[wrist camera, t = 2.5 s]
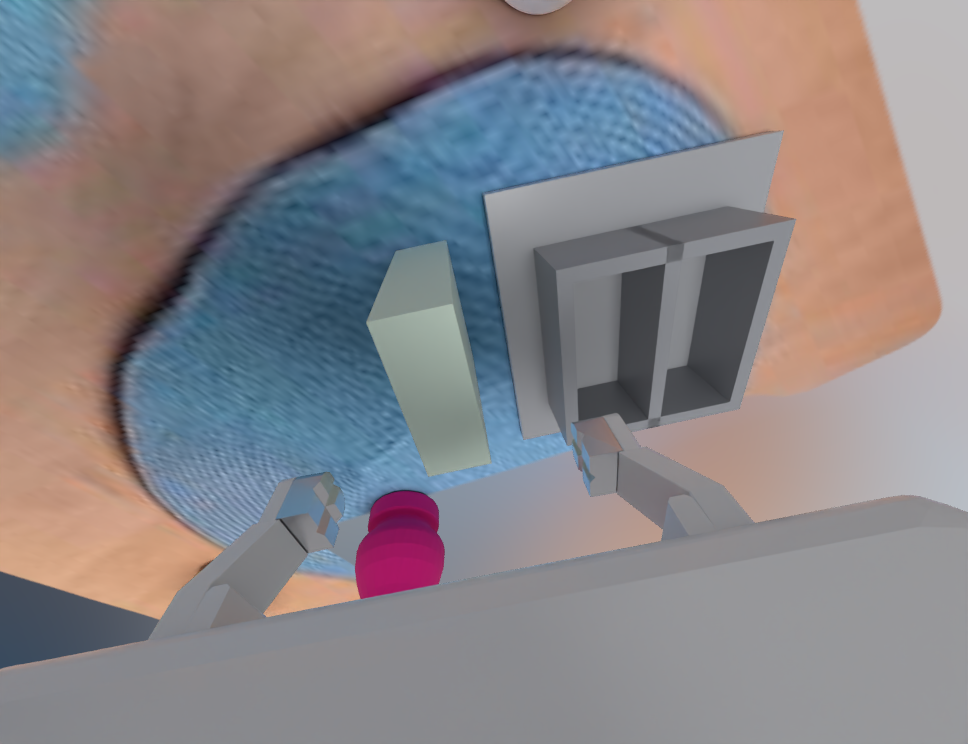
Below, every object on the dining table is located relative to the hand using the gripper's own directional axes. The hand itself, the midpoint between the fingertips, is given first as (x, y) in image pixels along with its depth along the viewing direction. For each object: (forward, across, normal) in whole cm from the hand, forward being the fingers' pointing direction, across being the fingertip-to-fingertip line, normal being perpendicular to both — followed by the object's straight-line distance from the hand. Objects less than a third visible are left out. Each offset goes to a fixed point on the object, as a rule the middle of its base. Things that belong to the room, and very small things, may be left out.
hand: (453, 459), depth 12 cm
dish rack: (+13, -11, +3) cm, 17 cm away
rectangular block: (+13, +1, 0) cm, 13 cm away
